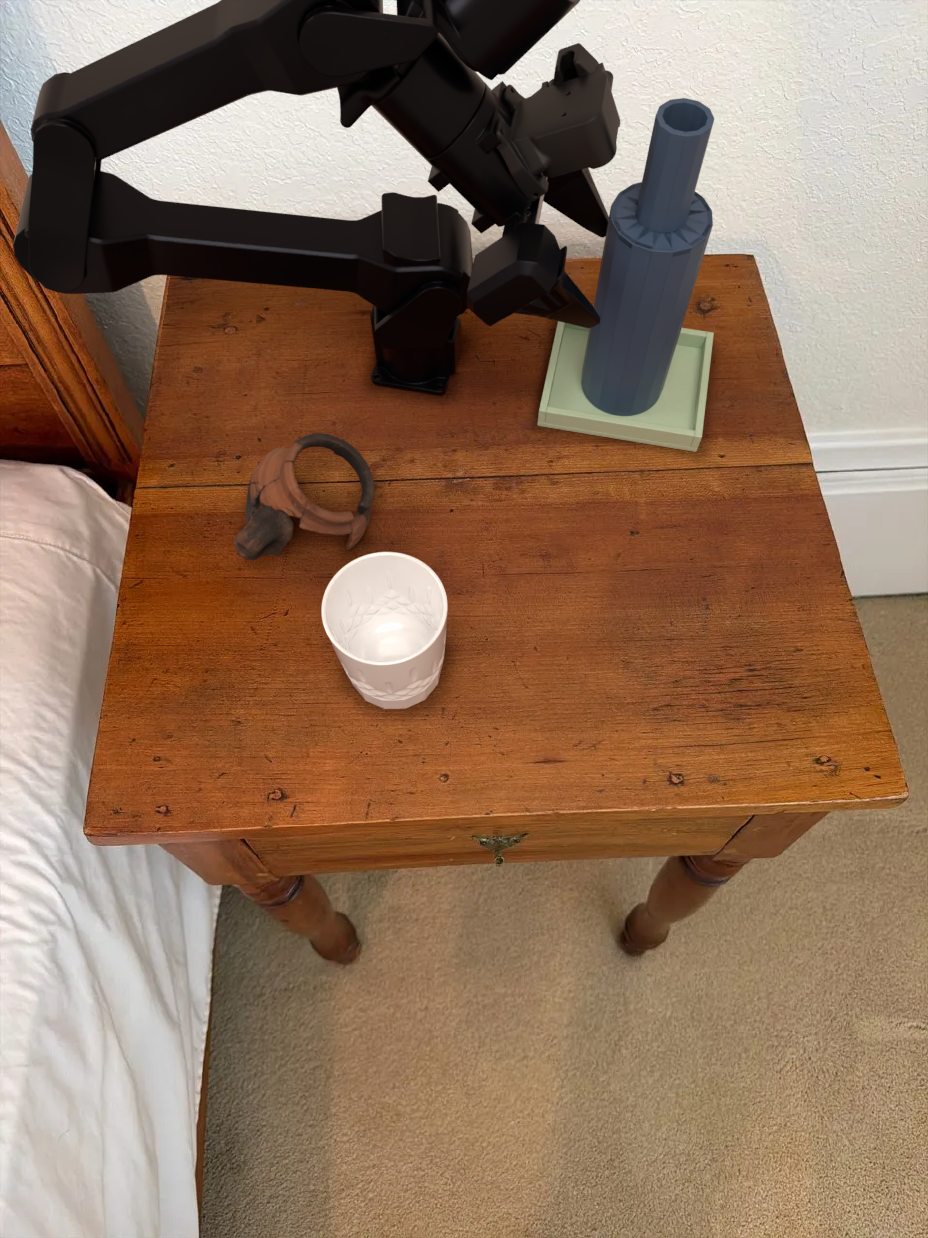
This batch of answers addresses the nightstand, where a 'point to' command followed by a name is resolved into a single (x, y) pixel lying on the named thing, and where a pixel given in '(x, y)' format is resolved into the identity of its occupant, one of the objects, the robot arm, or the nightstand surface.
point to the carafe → (650, 265)
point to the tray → (661, 425)
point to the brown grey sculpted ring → (298, 500)
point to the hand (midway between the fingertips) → (602, 277)
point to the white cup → (388, 627)
